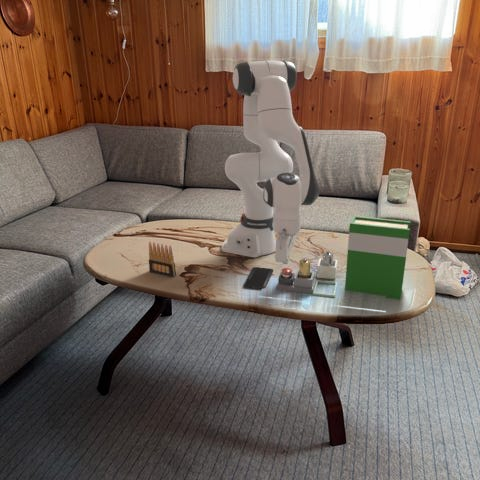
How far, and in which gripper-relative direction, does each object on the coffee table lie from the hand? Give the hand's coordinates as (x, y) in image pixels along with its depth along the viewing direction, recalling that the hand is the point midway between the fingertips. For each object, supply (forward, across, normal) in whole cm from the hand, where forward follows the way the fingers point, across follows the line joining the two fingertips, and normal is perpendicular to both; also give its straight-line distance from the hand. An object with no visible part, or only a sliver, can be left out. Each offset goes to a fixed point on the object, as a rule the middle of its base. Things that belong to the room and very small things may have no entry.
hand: (286, 262), depth 154 cm
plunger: (+6, -1, 0) cm, 6 cm away
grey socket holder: (+9, -1, -4) cm, 10 cm away
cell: (+7, -1, -6) cm, 9 cm away
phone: (+9, +2, +10) cm, 14 cm away
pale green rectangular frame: (+8, -1, -14) cm, 16 cm away
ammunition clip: (+9, -2, +45) cm, 46 cm away
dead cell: (+8, +10, -13) cm, 18 cm away
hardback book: (+9, +3, -29) cm, 30 cm away
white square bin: (+9, +10, -13) cm, 19 cm away
